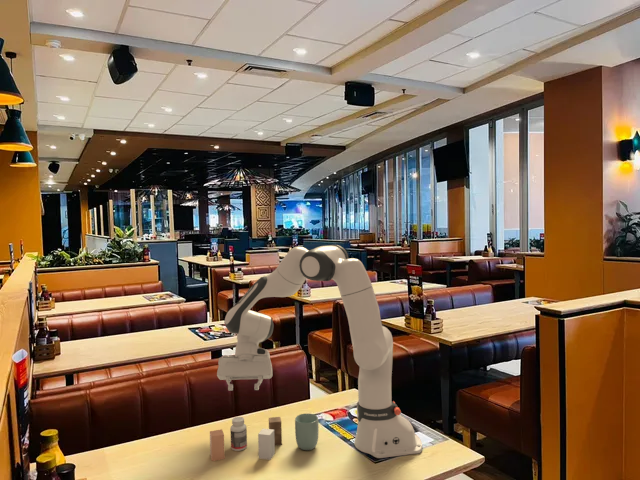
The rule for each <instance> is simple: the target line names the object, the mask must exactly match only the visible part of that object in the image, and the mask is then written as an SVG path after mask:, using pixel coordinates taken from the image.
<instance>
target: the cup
mask: <svg viewBox="0 0 640 480" xmlns="http://www.w3.org/2000/svg"><path fill="white" fill-rule="evenodd" d="M294 430H295V431H294V433H295V442H296V445H297V447H298V448H299V449H301V450H303V451H311V450H313V449H315V448H316V447H317V445H318V441H319V432H320V431H319V417H318V416H317V414H314V413H301V414H298V415H296V417H294Z"/></svg>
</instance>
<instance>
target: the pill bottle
mask: <svg viewBox="0 0 640 480" xmlns="http://www.w3.org/2000/svg"><path fill="white" fill-rule="evenodd" d="M247 428H248V427H247V424H245V418H244V417H243V416H236V417H233V418H232V419H231V426H230V448H231V450H232V451H236V452H239V451H243V450H245V449H247V447H248V436H247V435H248V433H247V432H248V431H247Z"/></svg>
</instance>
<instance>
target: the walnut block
mask: <svg viewBox="0 0 640 480" xmlns="http://www.w3.org/2000/svg"><path fill="white" fill-rule="evenodd" d="M268 429H273V430H274V440H275V446H281V445H283V440H282V439H283V433H282V432H283V431H282V430H283V429H282V419H281V416H273V417H268Z"/></svg>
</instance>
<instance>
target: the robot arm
mask: <svg viewBox="0 0 640 480" xmlns="http://www.w3.org/2000/svg"><path fill="white" fill-rule="evenodd" d="M306 280H308V281H316V282H330V281H332V280H333V281H334V283H336V286H337V288H338V291H339V294H340V298H341V300H342V303H343V307H344V310H345V313H346V317H347V321H348V326H349V333H350V340H351V344H352V350H353V358H354V362H355V363H356V364H357V365H358V367H359V372H358V376H357V377H358V379H357V385H358V386H357V388H358V389H357V390H358V391H357V392H358V393H357V394H358V395H357V396H358V401H357V403H356V404H357V405H356V418H357V429H356V435H355V439H354V441H353V443H354V446H355V448H356V449H357V450H359V451H360V452H362V453H365V454H369V455H371V456H372V457H374V458H376V459H383V458H389V457H391V458H392V457H398V456H406V455H407V456H408V455H414V454H415V455H416V454H420V453H421V452H422V451H423V442H422V440H421V437H420V436H419V435H418V434H416V433H415V430H414V427H413V425H412V424H411V422H410V421H409V420H408V419H407V418H405V417H404V416H403V415H401V413H402V411H401V409H400V407H398V405H397V404H396V402H395V401H394V400H393V401H392V376H393V375H392V374H393V372H392V371H393V356H394V355H393V353H394V340H393V339H394V338H393V335H392V332H391V331H390V330H389V329H388V327H386V326H384V325H383V323H382V319H381V312H380V307H379V302H378V300H377V296H376V293H375V290H374V288H373V284H372V281H371V278H370V276H369V274H368V272H367V270H366V267H365V265H364V264H363V262H362V261H361V260H360V259H358V258H354V257H351V258H349V253H348V252H347V250H346V249H345V248H344V247H342V246H341V245H338V244H328V245H321V246H317V247H315V248H312V249H307V248H306V247H303V246H295V247H293V248H291V249H290V250H289V251H288V252H287V253H286V255H284V257H283V258H282V260H281V261H280V263H279V264H278V265H277V267H276V268H275V269H274V270H273V271H272V272H271V273H269V274H268V275H265V276H264V275H263V276H261V277H259V278H258V279H257V281H255V282H254V283H253V285H251V286H250V287H249V289H248V290H247V291H246V292H245V293H244V295H243V296H242V297H241V298H240V299H239V300H238V301H237V302H236V303H235V305H233V306H232V307H230V309H229V310H228V312H226V315H225V318H224V326H225V329H227V331H228V332H229V333H231V334H236V340H237V341H236V342H237V343H236V345H235V352H234V354H233V355H232V354H230V355H228V354H227V355H226V354H225V355H222V356H221V357H219V358H218V363H217V364H218V366H217V372H216V376H217V378H218V379H219V380H220V381H222V380H223V381H226V384H227V385H228V386H227V390H228V391H234V384H233V383H231V382H232V380H233V381H235V380H257V382H256V383H254V388H253V389H254V391H259V389H260V386H261V385H262V383H263V380H267V379H268V380H270V379H271V378H272V377H273V366H272V364H273V363H272V361H271V355H270V351H269V350H268V349H265V348H262V347H260V346H259V344H260V343H263V342H265V341H266V340H268V339H270V338H271V337H272V335H273V332H274V320H273V318H272V317H271V316H270V315H267V314H265V313H261V312H257V311H256V310H255V311H254V310H251V309H252V308H253V307H254V306H255V304H256V303H257V302H259V300H261V299H265V298H274V297H275V298H286V297H291V296H293V295H295V294H296V293H298V292H299V290H300V289H301V287H303V284H305V282H306Z"/></svg>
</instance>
